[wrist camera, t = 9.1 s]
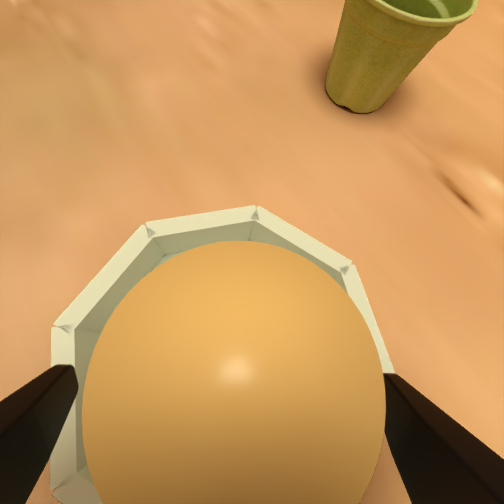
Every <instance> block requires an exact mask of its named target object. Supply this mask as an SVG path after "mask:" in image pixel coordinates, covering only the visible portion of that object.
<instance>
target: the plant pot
mask: <svg viewBox="0 0 504 504" xmlns="http://www.w3.org/2000/svg"><path fill="white" fill-rule="evenodd" d="M477 5H478V0H345V4H344V8H343V12H342V17H341V21H340V25H339V29H338V33H337V37H336V41H335V45H334V49H333V53H332V57H331V61H330V64H329V68H328V72H327V76H326V81H325V87H326V90H327V93H328V95H329V96H330V98H331V99H332V100H333V101H334V102H335V103H336V104H338V105H343V106H346V107H348V108H350V109H351V110H352V111H353V112H356V113H369V112H372V111H375V110H377V109H378V108H380V107H381V106H382V105H383V103H384V102H385V101H386V100H387V99H388V98H389V97H390V95H391V94H392V93H393V92H394V91H395V90H396V88H397V87H398V86H399V85H400V84H401V83H402V81H403V80H404V79H405V78H406V77H407V76H408V75H409V73H410V72H411V71H412V70H413V69H414V68H415V67H416V66H417V64H418V63H419V62H420V61H421V60H422V59H423V58H424V57H425V55H426V54H427V53H428V52H429V51H430V50H431V49H432V48H433V47H434V45H435V44H436V43H437V42H438V41H440V40H441V39H443V38H444V37H445V36H447V35H448V34H449V32H450V31H451V30H452V29H453V28H454V27H455V26H456V25H457V24H459V23H461V22H463V21H465V20H466V19H468V18H469V17H470V16H471V15H472V13H473V12H474V11H475V9H476V7H477Z"/></svg>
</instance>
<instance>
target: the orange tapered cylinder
mask: <svg viewBox="0 0 504 504" xmlns="http://www.w3.org/2000/svg"><path fill="white" fill-rule="evenodd" d="M385 415H386V400H385V385H384V378H383V371H382V366H381V362H380V358H379V354H378V351H377V347H376V345H375V342H374V340H373V337H372V334H371V332H370V330H369V328H368V326H367V324H366V322H365V320H364V318H363V316H362V314H361V313H360V311H359V309H358V308H357V306H356V305H355V303H354V302H353V300H352V299H351V298H350V297H349V295H348V294H347V293H346V292H345V291H344V289H343V288H342V287H341V286H340V285H339V284H338V283H337V282H336V281H335V280H334V279H333V278H332V277H331V276H330V275H329V274H328V273H326V272H325V271H324V270H322V269H321V268H320V267H318V266H317V265H316V264H314V263H313V262H311V261H309V260H307V259H306V258H304V257H302V256H301V255H298V254H296V253H294V252H292V251H289V250H287V249H285V248H281V247H278V246H274V245H271V244H267V243H261V242H255V241H238V240H237V241H223V242H216V243H211V244H206V245H202V246H199V247H196V248H193V249H190V250H187V251H185V252H183V253H181V254H179V255H176V256H174V257H172V258H170V259H169V260H167V261H166V262H164V263H162V264H161V265H159V266H157V267H156V268H155V269H153V270H152V271H151V272H150V273H148V274H147V275H146V276H145V277H143V278H142V279H141V280H140V281H139V282H138V283H137V284H136V285H135V286H134V287H133V288H132V289H131V290H130V291H129V292H128V293H127V294H126V296H125V297H124V298H123V299H122V301H121V302H120V303H119V305H118V306H117V307H116V308H115V310H114V312H113V313H112V315H111V316H110V318H109V320H108V321H107V323H106V324H105V326H104V328H103V330H102V332H101V335H100V337H99V339H98V341H97V343H96V345H95V348H94V351H93V354H92V357H91V360H90V363H89V366H88V370H87V375H86V380H85V385H84V390H83V401H82V437H83V444H84V449H85V455H86V461H87V465H88V468H89V471H90V474H91V477H92V480H93V483H94V487H95V489H96V491H97V493H98V495H99V497H100V499H101V501H102V503H103V504H359V503H360V501H361V500H362V498H363V496H364V494H365V492H366V490H367V488H368V485H369V483H370V481H371V479H372V477H373V474H374V471H375V468H376V465H377V462H378V458H379V455H380V451H381V446H382V441H383V435H384V428H385Z"/></svg>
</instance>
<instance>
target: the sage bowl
mask: <svg viewBox="0 0 504 504" xmlns="http://www.w3.org/2000/svg"><path fill="white" fill-rule="evenodd" d="M237 240H238V241H255V242H261V243H267V244H271V245H274V246H278V247H281V248H285V249H287V250H289V251H292V252H294V253H296V254H298V255H301V256H302V257H304V258H306V259H307V260H309V261H311V262H313V263H314V264H316V265H317V266H318V267H320V268H321V269H322V270H324V271H325V272H326V273H328V274H329V275H330V276H331V277H332V278H333V279H334V280H335V281H336V282H337V283H338V284H339V285H340V286H341V287H342V288H343V289H344V291H345V292H346V293H347V294H348V295H349V297H350V298H351V299H352V300H353V302H354V303H355V305H356V306H357V308H358V309H359V311H360V313H361V314H362V316H363V318H364V320H365V322H366V324H367V326H368V328H369V330H370V332H371V334H372V337H373V340H374V342H375V345H376V347H377V351H378V354H379V358H380V362H381V366H382V371H383V373H395V371H394V368H393V366H392V363H391V360H390V358H389V355H388V352H387V350H386V347H385V344H384V342H383V339H382V336H381V333H380V331H379V328H378V325H377V323H376V320H375V317H374V315H373V312H372V309H371V307H370V304H369V301H368V299H367V296H366V293H365V291H364V288H363V285H362V282H361V280H360V277H359V274H358V272H357V269H356V266H355V264H353V265H351V263H352V261H351V260H349V259H347V258H346V257H344V256H342V255H341V254H339V253H337V252H336V251H334V250H332V249H331V248H329V247H327V246H326V245H324V244H322V243H321V242H319V241H317V240H316V239H314V238H312V237H311V236H309V235H307V234H306V233H304V232H302V231H301V230H299V229H297V228H296V227H294V226H292V225H291V224H289V223H287V222H286V221H284V220H282V219H281V218H279V217H277V216H276V215H274V214H272V213H270V212H269V211H267V210H265V209H264V208H262V207H260V206H258V208H257V209H256V205H252V206H245V207H239V208H233V209H226V210H220V211H213V212H207V213H200V214H194V215H188V216H181V217H175V218H168V219H162V220H156V221H149V222H146V226H145V225H143V224H142V225H141V226H140V227H139V228H138V229H137V230H136V232H135V233H134V234H133V235H132V236H131V237H130V238H129V239H128V240H127V242H126V243H125V244H124V245H123V246H122V247H121V248H120V249H119V251H118V252H117V253H116V254H115V255H114V256H113V257H112V258H111V259H110V261H109V262H108V263H107V264H106V265H105V266H104V267H103V268H102V270H101V271H100V272H99V273H98V274H97V275H96V276H95V277H94V278H93V280H92V281H91V282H90V283H89V284H88V285H87V286H86V287H85V289H84V290H83V291H82V292H81V293H80V294H79V295H78V296H77V297H76V299H75V300H74V301H73V302H72V303H71V304H70V305H69V306H68V307H67V309H66V310H65V311H64V312H63V313H62V314H61V315H60V316H59V318H58V319H57V320H56V321H55V322H54V323H53V324H55V325H56V326H58V327H53V328H51V367H53V366H54V365H57V364H71V365H73V366H74V368H75V372H76V376H77V380H78V384H79V388H78V393H77V395H76V398H75V400H74V402H73V405H72V407H71V410H70V412H69V414H68V417H67V419H66V421H65V424H64V426H63V428H62V431H61V433H60V435H59V438H58V440H57V442H56V445H55V447H54V449H53V451H52V454H51V456H50V490H52V489H55V488H57V489H56V490H55V492H54V493H53V494H52V496H53V497H55V498H56V499H57V500H58V501H60V502H61V503H62V504H103V503H102V501H101V499H100V497H99V495H98V493H97V491H96V489H95V487H94V483H93V480H92V477H91V474H90V471H89V468H88V465H87V461H86V455H85V449H84V444H83V437H82V401H83V390H84V385H85V380H86V375H87V370H88V366H89V363H90V360H91V357H92V354H93V351H94V348H95V345H96V343H97V341H98V339H99V337H100V335H101V332H102V330H103V328H104V326H105V324H106V323H107V321H108V320H109V318H110V316H111V315H112V313H113V312H114V310H115V308H116V307H117V306H118V305H119V303H120V302H121V301H122V299H123V298H124V297H125V296H126V294H127V293H128V292H129V291H130V290H131V289H132V288H133V287H134V286H135V285H136V284H137V283H138V282H139V281H140V280H141V279H142V278H143V277H145V276H146V275H147V274H148V273H150V272H151V271H152V270H153V269H155V268H156V267H157V266H159V265H161V264H162V263H164V262H166V261H167V260H169V259H170V258H172V257H174V256H176V255H179V254H181V253H183V252H185V251H187V250H190V249H193V248H196V247H199V246H202V245H206V244H211V243H216V242H223V241H237Z"/></svg>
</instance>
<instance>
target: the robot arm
mask: <svg viewBox="0 0 504 504" xmlns="http://www.w3.org/2000/svg"><path fill="white" fill-rule="evenodd" d="M383 378H384V385H385V400H386V415H385V428H384V432H385V435H386V438H387V441H388V444H389V447H390V450H391V453H392V456H393V458H394V461H395V464H396V466H397V468H398V471H399V473H400V476H401V478H402V481H403V483H404V485H405V488H406V490H407V493H408V495H409V497H410V500H411V502H412V504H504V459H503V458H501V457H500V456H499V455H498V454H496V453H495V452H494V451H493V450H491V449H490V448H489V447H488V446H486V445H485V444H484V443H483V442H481V441H480V440H479V439H478V438H476V437H475V436H474V435H473V434H471V433H470V432H469V431H468V430H466V429H465V428H464V427H463V426H461V425H460V424H459V423H458V422H456V421H455V420H454V419H452V418H451V417H450V416H449V415H447V414H446V413H445V412H444V411H442V410H441V409H440V408H439V407H437V406H436V405H435V404H434V403H432V402H431V401H430V400H429V399H427V398H426V397H425V396H424V395H422V394H421V393H420V392H419V391H417V390H416V389H415V388H414V387H412V386H411V385H410V384H409V383H407V382H406V381H405V380H404V379H402V378H401V377H400V376H398V375H397V374H395V373H383ZM78 388H79V384H78V380H77V376H76V372H75V368H74V366H73V365H71V364H57V365H54V366H53V367H51V368H50V369H48V370H47V371H45V372H44V373H42V374H41V375H39V376H38V377H36V378H35V379H33V380H32V381H30V382H29V383H27V384H26V385H24V386H23V387H21V388H20V389H18V390H17V391H15V392H14V393H12V394H11V395H9V396H8V397H6V398H5V399H3V400H2V401H0V504H25V503H26V501H27V499H28V497H29V496H30V494H31V492H32V490H33V488H34V486H35V484H36V482H37V481H38V479H39V477H40V475H41V473H42V471H43V469H44V467H45V466H46V464H47V462H48V460H49V458H50V456H51V454H52V451H53V449H54V447H55V445H56V442H57V440H58V438H59V435H60V433H61V431H62V428H63V426H64V424H65V421H66V419H67V417H68V414H69V412H70V410H71V407H72V405H73V402H74V400H75V398H76V395H77V393H78Z"/></svg>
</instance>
